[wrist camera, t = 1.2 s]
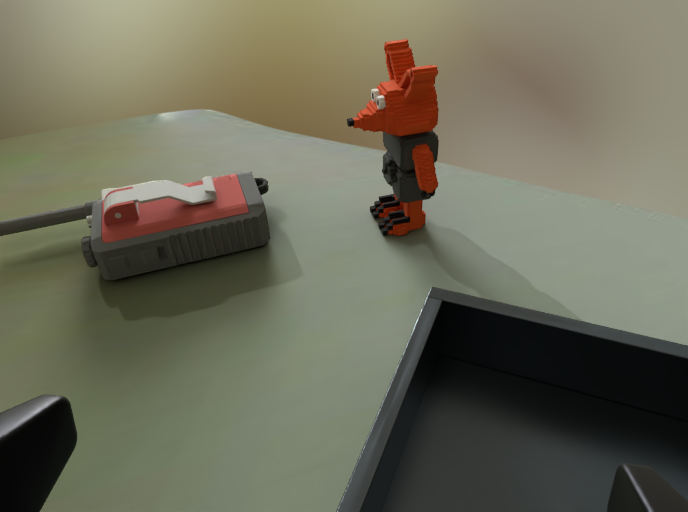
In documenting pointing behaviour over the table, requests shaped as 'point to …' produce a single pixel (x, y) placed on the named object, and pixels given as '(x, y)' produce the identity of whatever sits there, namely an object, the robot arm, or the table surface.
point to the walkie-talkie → (164, 223)
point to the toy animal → (404, 138)
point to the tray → (520, 413)
